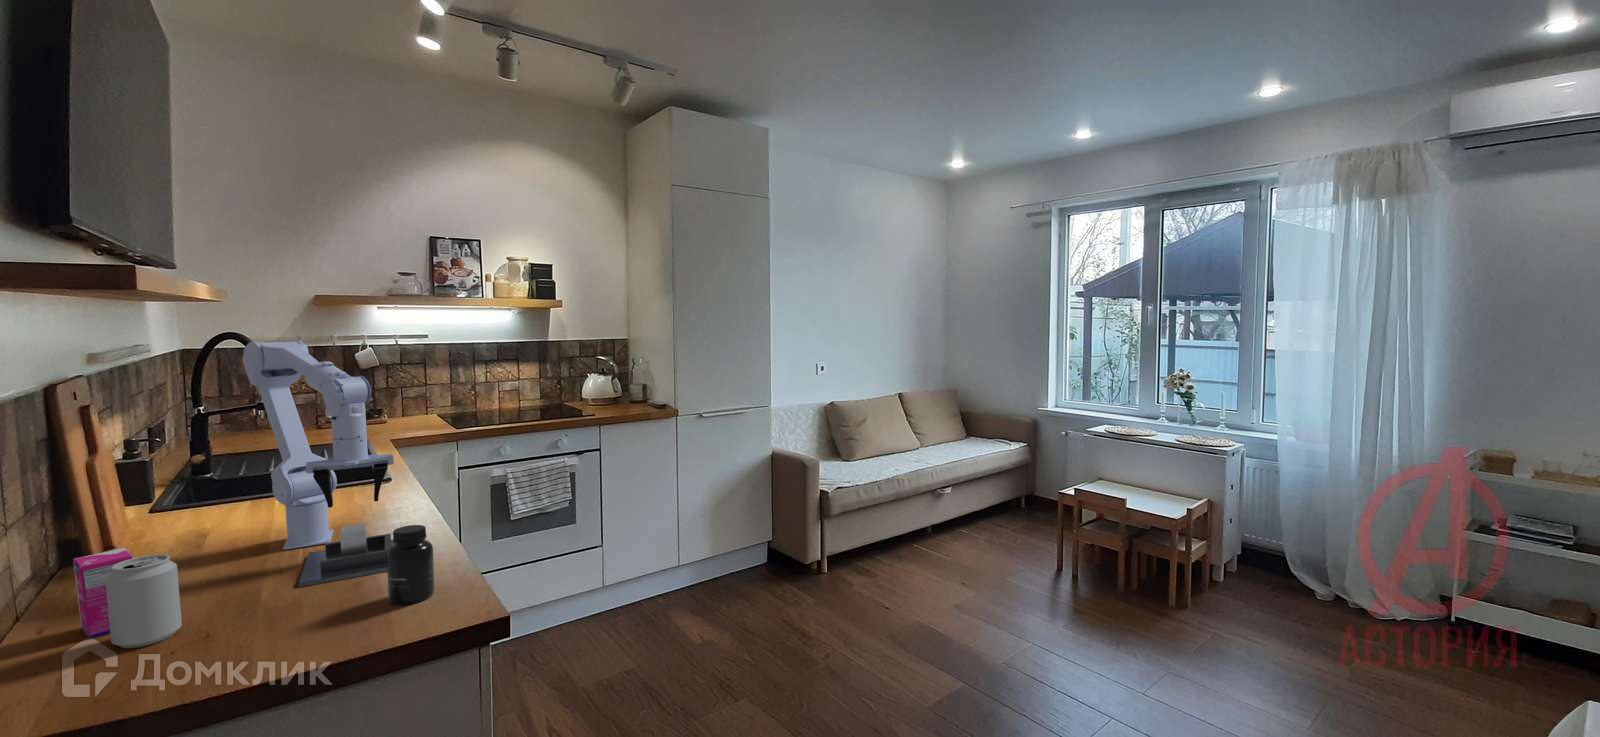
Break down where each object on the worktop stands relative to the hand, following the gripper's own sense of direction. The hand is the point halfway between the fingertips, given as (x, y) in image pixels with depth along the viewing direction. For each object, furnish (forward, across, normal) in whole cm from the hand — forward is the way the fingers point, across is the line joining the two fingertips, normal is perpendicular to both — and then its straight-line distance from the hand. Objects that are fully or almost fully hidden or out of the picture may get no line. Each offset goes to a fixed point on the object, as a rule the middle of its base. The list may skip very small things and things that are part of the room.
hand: (353, 503), depth 132 cm
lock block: (+10, 0, -6) cm, 11 cm away
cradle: (+10, 0, -6) cm, 12 cm away
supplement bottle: (+11, +9, -31) cm, 34 cm away
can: (+11, -25, -26) cm, 38 cm away
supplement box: (+11, -31, -18) cm, 37 cm away
